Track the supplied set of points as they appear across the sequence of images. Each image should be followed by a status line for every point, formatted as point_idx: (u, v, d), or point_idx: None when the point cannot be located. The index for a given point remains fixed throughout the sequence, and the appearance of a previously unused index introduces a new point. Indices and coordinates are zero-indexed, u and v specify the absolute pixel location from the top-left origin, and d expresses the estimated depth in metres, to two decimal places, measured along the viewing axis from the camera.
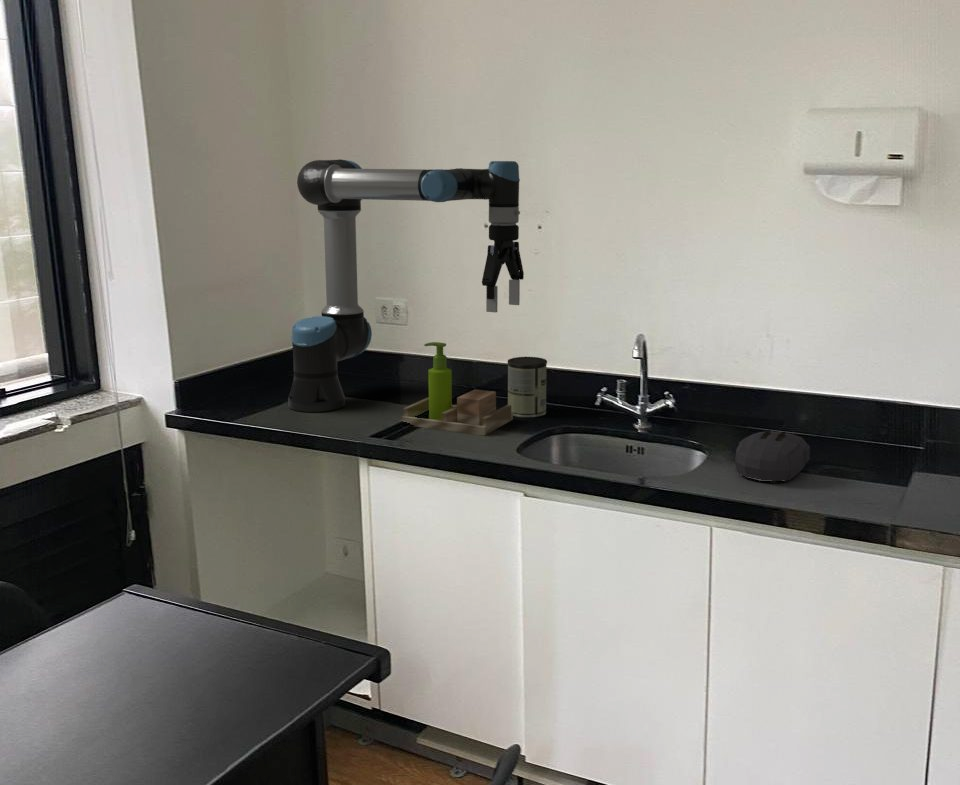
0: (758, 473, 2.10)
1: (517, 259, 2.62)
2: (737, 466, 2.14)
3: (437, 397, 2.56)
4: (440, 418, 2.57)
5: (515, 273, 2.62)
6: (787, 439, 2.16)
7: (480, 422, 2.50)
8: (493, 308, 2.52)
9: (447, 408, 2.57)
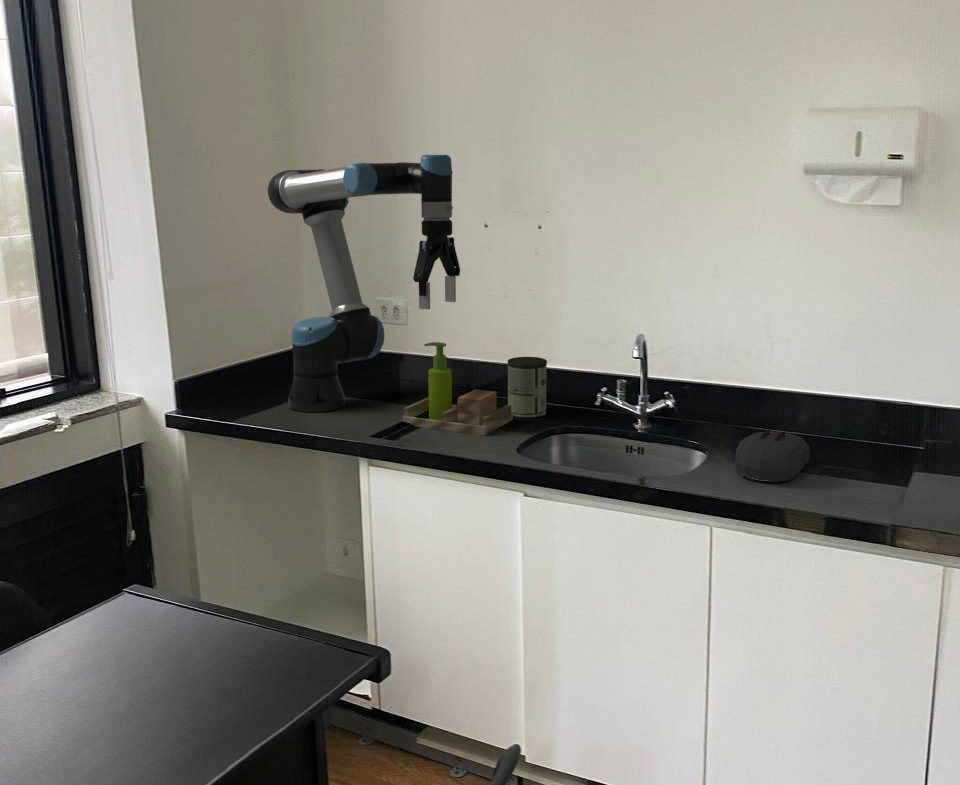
0: (758, 473, 2.10)
1: (453, 255, 2.56)
2: (737, 466, 2.14)
3: (437, 397, 2.56)
4: (440, 418, 2.57)
5: (451, 269, 2.57)
6: (787, 439, 2.16)
7: (480, 422, 2.50)
8: (426, 305, 2.47)
9: (447, 408, 2.57)
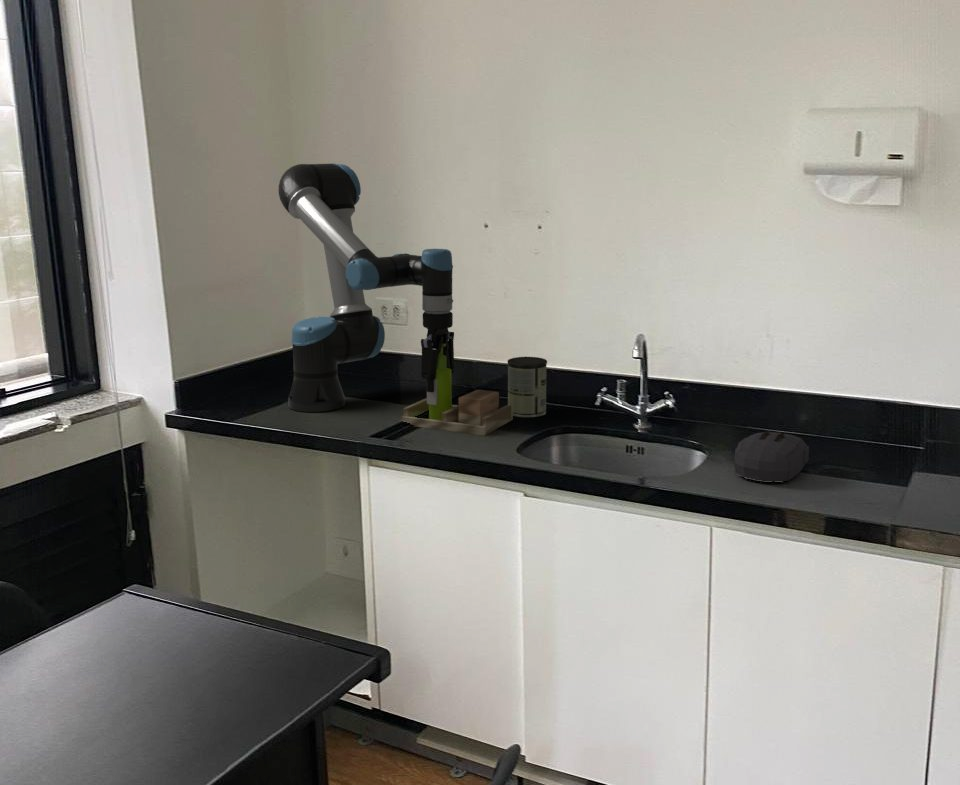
0: (757, 474, 2.10)
1: (450, 349, 2.60)
2: (736, 467, 2.14)
3: None
4: (440, 418, 2.57)
5: None
6: (786, 440, 2.15)
7: (481, 422, 2.50)
8: (433, 400, 2.56)
9: (447, 408, 2.57)
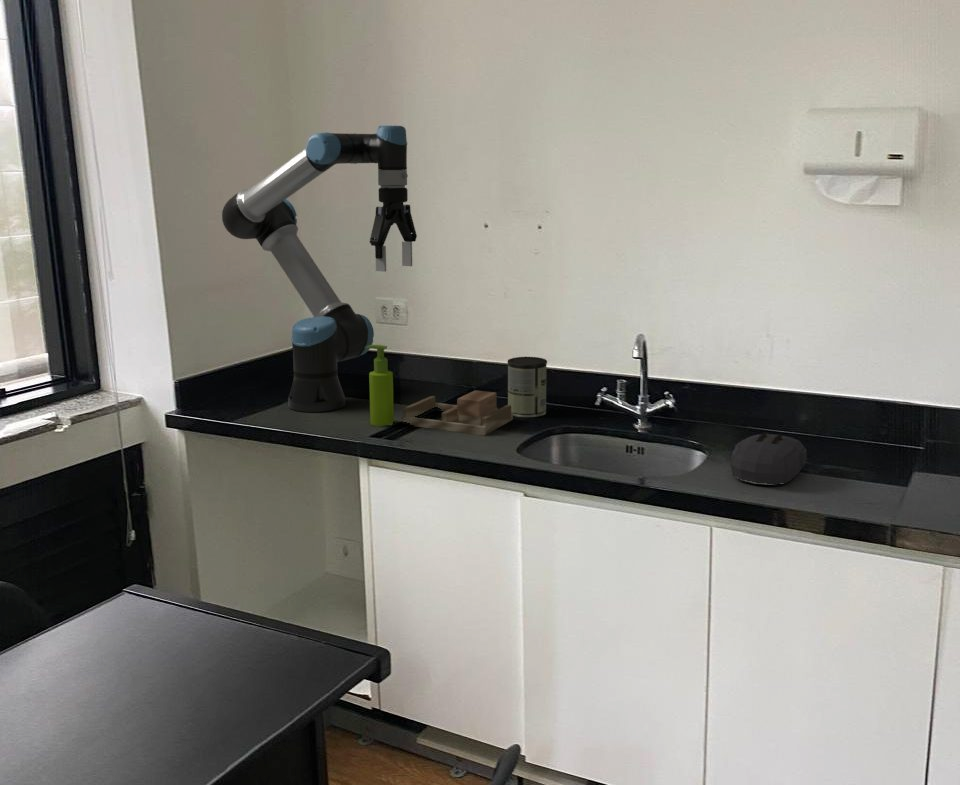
0: (754, 477, 2.08)
1: (409, 221, 2.72)
2: (733, 469, 2.12)
3: (377, 400, 2.52)
4: (381, 422, 2.54)
5: (407, 235, 2.72)
6: (783, 442, 2.14)
7: None
8: (382, 267, 2.62)
9: (388, 412, 2.54)
